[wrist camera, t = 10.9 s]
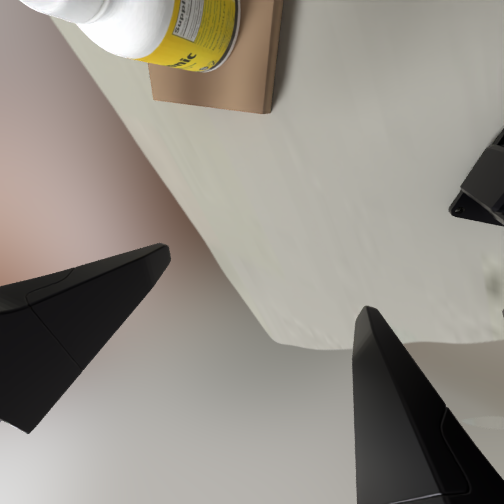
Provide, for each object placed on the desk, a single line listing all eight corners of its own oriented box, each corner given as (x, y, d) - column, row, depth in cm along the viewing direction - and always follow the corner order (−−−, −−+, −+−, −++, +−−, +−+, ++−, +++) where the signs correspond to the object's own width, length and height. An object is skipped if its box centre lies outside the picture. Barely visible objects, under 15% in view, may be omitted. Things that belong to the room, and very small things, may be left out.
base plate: (294, -97, 11) (286, -131, 9) (270, 113, 16) (262, 114, 15) (148, -82, 13) (121, -108, 11) (169, 100, 18) (153, 100, 17)
